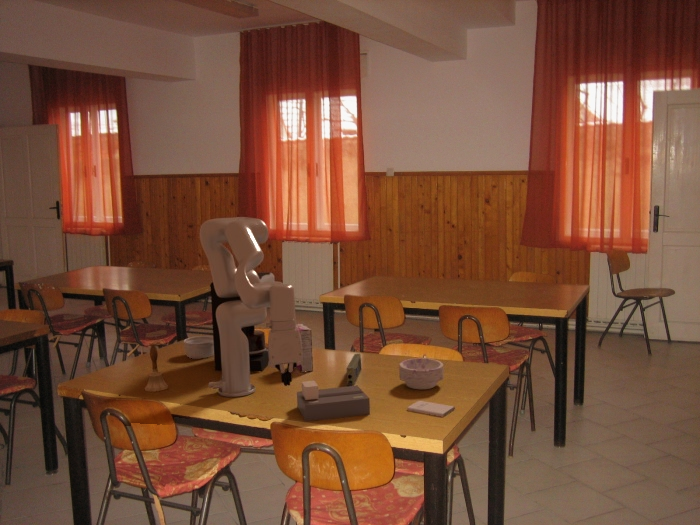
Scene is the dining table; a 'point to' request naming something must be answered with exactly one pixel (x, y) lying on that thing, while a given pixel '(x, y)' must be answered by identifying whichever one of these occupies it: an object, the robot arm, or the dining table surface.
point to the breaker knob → (310, 390)
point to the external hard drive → (430, 408)
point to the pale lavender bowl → (421, 373)
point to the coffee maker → (255, 337)
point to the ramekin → (199, 347)
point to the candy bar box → (305, 348)
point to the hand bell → (155, 374)
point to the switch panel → (334, 403)
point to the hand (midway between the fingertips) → (286, 384)
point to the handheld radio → (353, 369)
